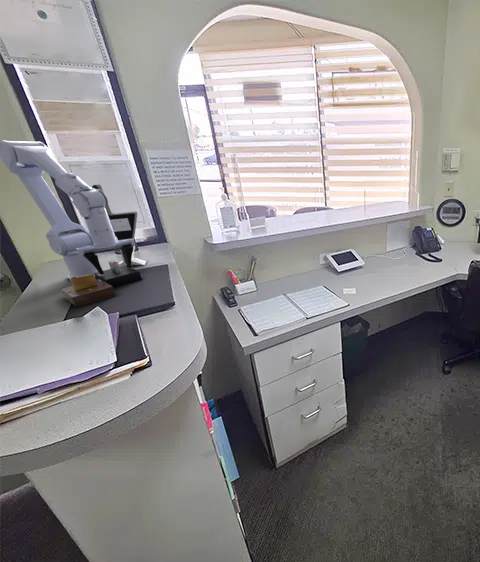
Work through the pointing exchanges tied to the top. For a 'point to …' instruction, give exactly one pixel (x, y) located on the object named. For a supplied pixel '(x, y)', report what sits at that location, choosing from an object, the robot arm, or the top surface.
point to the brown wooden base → (88, 293)
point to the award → (123, 228)
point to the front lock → (83, 281)
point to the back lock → (114, 267)
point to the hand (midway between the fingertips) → (116, 270)
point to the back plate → (119, 276)
